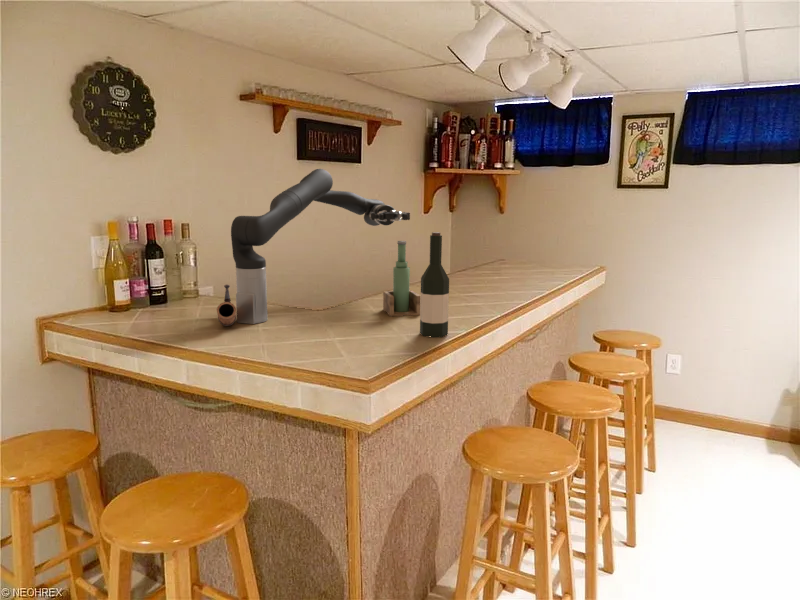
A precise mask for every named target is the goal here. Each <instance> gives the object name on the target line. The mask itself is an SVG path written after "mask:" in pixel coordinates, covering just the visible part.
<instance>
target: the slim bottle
mask: <svg viewBox="0 0 800 600" xmlns="http://www.w3.org/2000/svg"><path fill="white" fill-rule="evenodd" d="M396 243H397V260H396V261H395V266H393V271H392V273H393V274H392V276H393V277H392V291H393V296H394V312H408V311H409V291H410V287H411V285H410V284H411V283H410V281H411V279H410V278H411V277H410V276H411V275H410V274H411V273H410V272H411V271H410V270H411V267H409V266H408V261H406V254H407V253H406V251H407V250H406V247H407V246H406V245H407V240H397V242H396Z"/></svg>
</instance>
